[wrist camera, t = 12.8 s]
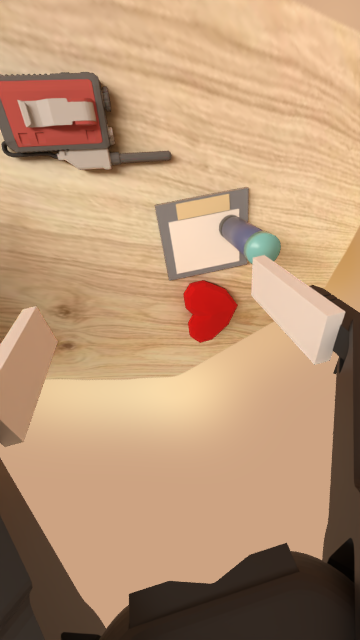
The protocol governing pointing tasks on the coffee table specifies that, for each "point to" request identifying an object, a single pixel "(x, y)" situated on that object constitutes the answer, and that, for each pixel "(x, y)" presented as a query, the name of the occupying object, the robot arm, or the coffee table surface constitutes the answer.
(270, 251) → the marker
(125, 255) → the coffee table surface
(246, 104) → the coffee table surface
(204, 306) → the heart
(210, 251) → the clipboard
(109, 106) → the walkie-talkie
